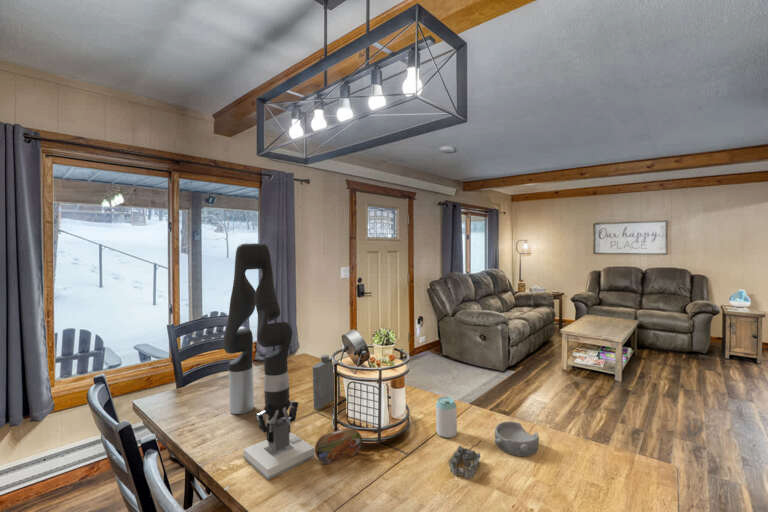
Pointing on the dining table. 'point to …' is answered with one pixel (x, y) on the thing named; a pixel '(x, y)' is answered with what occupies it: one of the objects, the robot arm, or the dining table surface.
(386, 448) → the dining table surface
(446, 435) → the can
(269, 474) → the socket
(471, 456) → the grey jagged ring
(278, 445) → the plug
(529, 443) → the dish
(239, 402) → the robot arm
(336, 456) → the tin
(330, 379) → the hip flask
